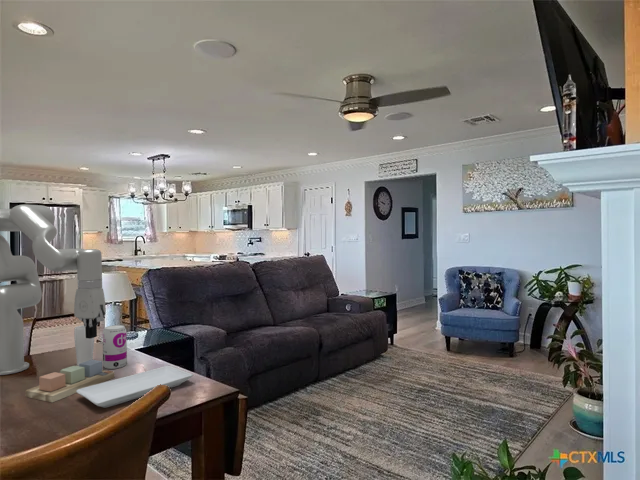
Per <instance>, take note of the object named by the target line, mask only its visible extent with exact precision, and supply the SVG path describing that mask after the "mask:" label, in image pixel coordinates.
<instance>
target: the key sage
mask: <svg viewBox="0 0 640 480" xmlns="http://www.w3.org/2000/svg"><path fill="white" fill-rule="evenodd" d="M59 373H63V374H65V383H67V384H69V385H72V384H75V383H76V382H78V381H81V380H84V379H85V367H80V366H77V365H72V366H71V365H70V366H67V367H65V368H62V369H60V370H59Z"/></svg>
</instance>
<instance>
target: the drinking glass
mask: <svg viewBox="0 0 640 480" xmlns="http://www.w3.org/2000/svg"><path fill="white" fill-rule="evenodd" d="M73 335H74V336H73V337H74V348H75V356H76V358H75V359H76V366H79V364H80V363H83V362H86V361H89V360H94V351H95V350H94V348H95V337H94V338H90V339H89V338H86V331H85V326H84V324H82V325H78V326H76V327H74V334H73Z"/></svg>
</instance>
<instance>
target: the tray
mask: <svg viewBox="0 0 640 480" xmlns="http://www.w3.org/2000/svg"><path fill="white" fill-rule="evenodd" d="M193 376H194V374H193V373H190V372H187V371H184V370H182V369H179V368H177V367H174V366H171V365H164V366H161V367H158V368H154V369H150V370H145V371H142V372H139V373H135V374H131V375H127V376H123V377H119V378H116V379H115V378H114V379H110V380H107V381H105V382H102V383H100V384H96V385H92V386H88V387H85V388H81V389H78V390H77V391H76V392H77V393H76V394H78V395H80V396H81V397H83V398H85V399H86V400H88V401H89V402H91V403H93V404H94V405H96V406H97V407H101V408H102V409H105V408H110V407H113V406H116V405H119V404H123V403H126V402H128V401H132V400H134V399H138V398H141V396H142V397H144V396H143V395H144V394H146V393H147V392H149V391H150V390H152V389H153V388H154V387H156V386H157V385H160V384H161V385H167V386H169V387H171V388H174V387H178V386H181V384H182V383H184V382H186V381H188V380H189V379H191V378H192V377H193Z"/></svg>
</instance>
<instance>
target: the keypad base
mask: <svg viewBox="0 0 640 480" xmlns="http://www.w3.org/2000/svg"><path fill="white" fill-rule="evenodd" d="M115 377H116V376H115V371H113V370H105V369H102V373H100V374H97V375H94V376H92V377H86V376H85V379H84V380H81V381H78V382H76V383H73V384H67V383H65V387H62V388H60V389H57V390H54V391H52V392H48V391H43V390H39V385H37V386H34V387H31V388H28V389H26V390H24V392H25V395H24V396H25V397H26V398H30V399H34V400H40V401H43V402H49V403H54V402H57V401H60V400H63V399H64V398H67V397H70V396H72V395H75V394H78V393H77V392H76V391H77V390H78V389H81V388H85V387H88V386H92V385H96V384H100V383H104V382H107V381H111V380H113V379H115Z"/></svg>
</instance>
